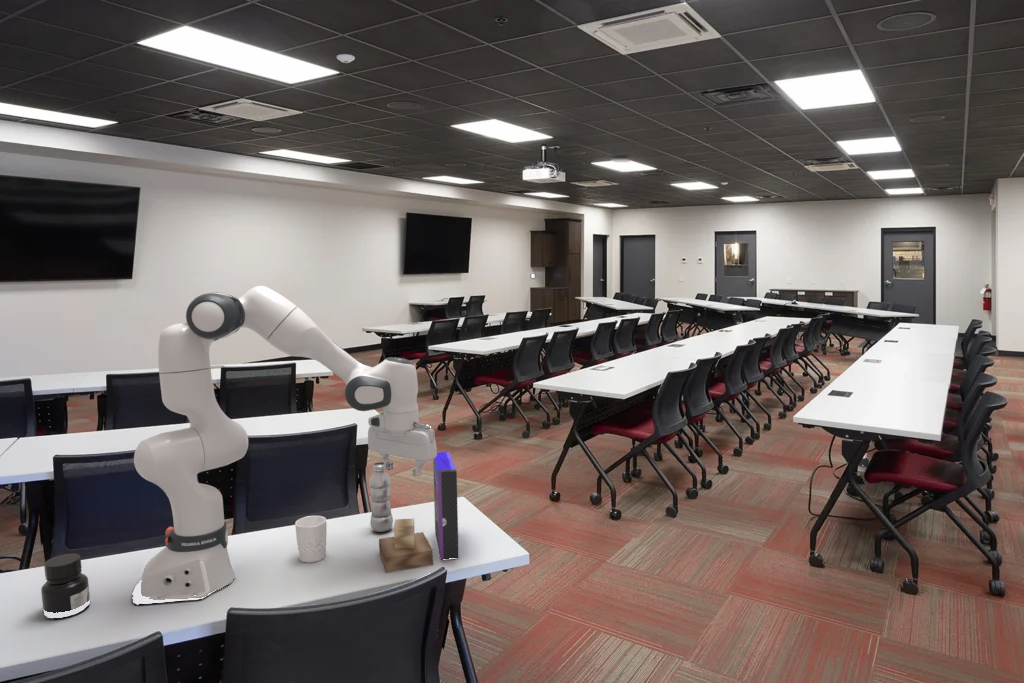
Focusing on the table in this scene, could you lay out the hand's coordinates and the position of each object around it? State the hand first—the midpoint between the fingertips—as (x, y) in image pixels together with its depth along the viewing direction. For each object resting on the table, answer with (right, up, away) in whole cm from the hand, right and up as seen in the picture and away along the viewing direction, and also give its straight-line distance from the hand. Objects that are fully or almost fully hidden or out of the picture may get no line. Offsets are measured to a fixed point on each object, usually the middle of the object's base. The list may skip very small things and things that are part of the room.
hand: (402, 472), depth 172 cm
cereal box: (+10, -23, +11) cm, 27 cm away
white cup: (-25, -24, +5) cm, 34 cm away
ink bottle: (-73, -27, -21) cm, 81 cm away
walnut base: (0, -23, +3) cm, 24 cm away
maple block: (0, -19, +2) cm, 20 cm away
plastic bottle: (-10, -21, +21) cm, 32 cm away
